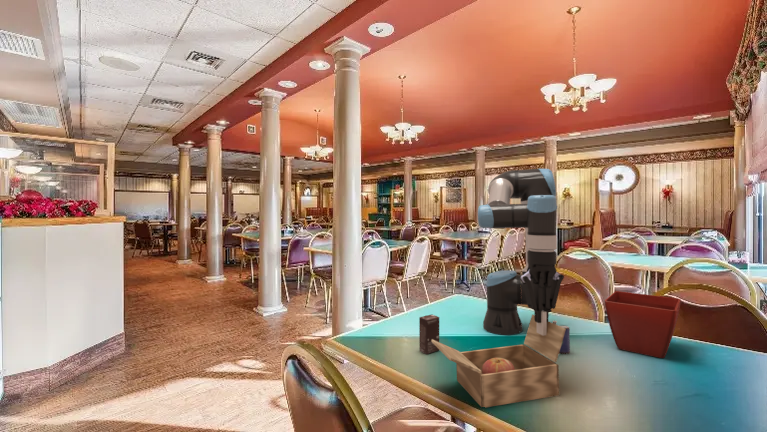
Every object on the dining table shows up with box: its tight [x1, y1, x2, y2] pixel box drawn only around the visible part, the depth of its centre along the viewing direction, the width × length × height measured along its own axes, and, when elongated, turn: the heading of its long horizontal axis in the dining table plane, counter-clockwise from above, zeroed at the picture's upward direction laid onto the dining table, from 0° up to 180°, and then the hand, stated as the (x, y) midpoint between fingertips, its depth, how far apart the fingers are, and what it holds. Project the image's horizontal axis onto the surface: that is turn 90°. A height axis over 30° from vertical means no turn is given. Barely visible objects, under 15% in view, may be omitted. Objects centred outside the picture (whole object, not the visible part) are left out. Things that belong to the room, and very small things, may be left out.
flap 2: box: [523, 314, 566, 363], centre depth 101 cm, size 1×13×9 cm, turn 13°
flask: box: [552, 320, 571, 355], centre depth 121 cm, size 9×3×11 cm, turn 68°
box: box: [418, 314, 440, 355], centre depth 125 cm, size 6×4×12 cm
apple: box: [482, 358, 515, 374], centre depth 98 cm, size 9×9×8 cm
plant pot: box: [604, 290, 682, 359], centre depth 122 cm, size 19×19×17 cm
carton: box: [455, 343, 560, 408], centre depth 99 cm, size 22×15×8 cm
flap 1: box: [431, 339, 481, 373], centre depth 95 cm, size 1×13×9 cm
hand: (541, 333), depth 101 cm, fingers closed
